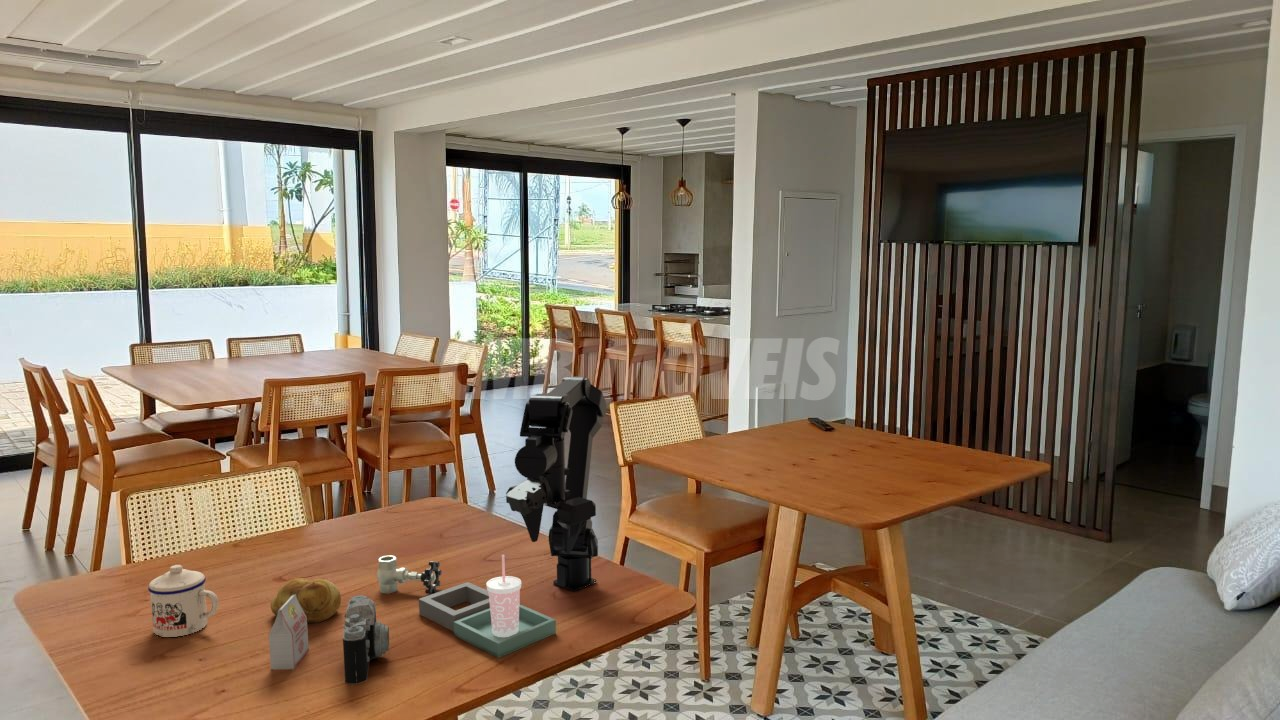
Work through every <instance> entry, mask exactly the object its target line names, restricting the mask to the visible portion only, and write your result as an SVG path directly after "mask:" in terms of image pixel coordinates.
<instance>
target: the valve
mask: <svg viewBox="0 0 1280 720" xmlns="http://www.w3.org/2000/svg"><path fill="white" fill-rule="evenodd" d="M397 563H398V562H397V557H396V556H395V555H383V556H380V557H379V558H378V569H377V572H376V573H377V574H376V577H377V581H378V582H379V591H380V593H381V594H391V593H395V592H397V591H399V589H398V588H399V587H398V585H399V584H406V583H407V582H408V581H411V582H419V580H420V582H421V583H422V585H423V586H425V588H427V589H425V595H426V594H427V595H431V594H434V593H437V592H438V591H437V587H440V586H441V580H439V578H440V576H441V575H442V573H443V572H442V569H439V568H440V561H434V560H430V561H428V566H430V568H425V569H424V571H422V572H421V573H420V572H419V571H409V570H408V568H407V567H400V568H398V566H397V565H398V564H397Z"/></svg>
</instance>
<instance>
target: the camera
mask: <svg viewBox="0 0 1280 720" xmlns="http://www.w3.org/2000/svg"><path fill="white" fill-rule="evenodd" d="M367 597H368V596H367V595H361V594H360V595H354V596H352V597H351V598H350V600H348V602H347V608H346V613H345V614H344V624H343V625H342V628H343V634H342V648H343V667H344V684H345V683H346V684H347V685H357V683H359V684H361V682H362V683H365V682H367V681H368V676H369V675H368V674H369V669H370V661H372V660H376V659H377V658H381V657H382V656H383V655H384V654H386V652H389V651H390V631H389V630H390V629H389V625H385V624H384V623H382V622H381V621H377V611H376V608H377V607H376V602H374V600H372V599H370V598H367Z"/></svg>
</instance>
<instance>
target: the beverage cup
mask: <svg viewBox="0 0 1280 720" xmlns="http://www.w3.org/2000/svg"><path fill="white" fill-rule="evenodd" d="M505 557H506V555H505V554H501V570H502V571H501V573H502V575H501V576H498V577H497V576H496V577H493V578H490V579H489V580H488V581H486V584H485V585H486V590H487V591H488V592H489V602H490V613H491V623H492V633H493V635H495V636H497V637H509V636H512V635H514V634H516V633H518V631H519V604H520V599H521V598H520V597H521V596H520V595H521V588H522V580H521V579H520V578H519V577H517V576H511V575H506V563H505V562H506V559H505Z"/></svg>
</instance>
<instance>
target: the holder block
mask: <svg viewBox="0 0 1280 720" xmlns="http://www.w3.org/2000/svg"><path fill="white" fill-rule="evenodd" d="M466 602H467V603H469V604H470V605H467V606H465V607H464V606H463V607H462V608H460V609H456V610H455V609H453V608H452V607H455V606H457V605H460V604H463V603H466ZM489 608H490V602H489V592H488V590H487V589H485V588H482V587H480V586H478V585H475V584H473V583H471V582H469V581H468V582H464V583H462V584H458V585H455V586H451V587H449V588H447V589H443V590H440V591H436V593H434V594H428V595H426V596H423V597H420V598H418V612H419V613H418V614H419V616H422V617H424V618H426V619H428V620H429V621H432V622H434V623H436V624H438V625H440V626H442V627H444V628H446V629H448V630H450V631H451V632H454V622H455V621H457V620H460V619H462V618H465V617H468V616H470V615H473V614H476V613H478V612H481V611H484V610H486V609H489Z"/></svg>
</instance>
